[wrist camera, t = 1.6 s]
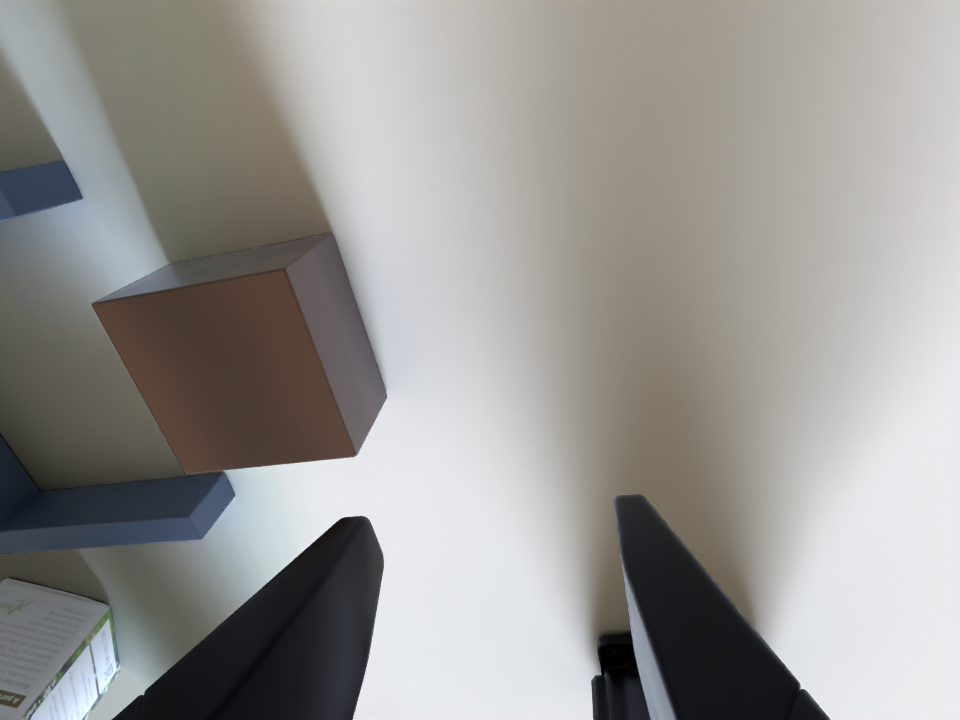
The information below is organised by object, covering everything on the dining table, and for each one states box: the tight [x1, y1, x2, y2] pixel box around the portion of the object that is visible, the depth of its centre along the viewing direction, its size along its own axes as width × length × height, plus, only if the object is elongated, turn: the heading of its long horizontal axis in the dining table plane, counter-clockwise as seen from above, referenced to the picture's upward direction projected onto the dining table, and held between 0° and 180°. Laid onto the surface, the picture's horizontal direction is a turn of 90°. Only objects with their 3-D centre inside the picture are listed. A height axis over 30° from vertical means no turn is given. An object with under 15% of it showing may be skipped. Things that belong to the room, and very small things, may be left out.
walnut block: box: [92, 233, 387, 474], centre depth 18 cm, size 6×6×4 cm
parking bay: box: [0, 161, 235, 554], centre depth 20 cm, size 10×13×2 cm
